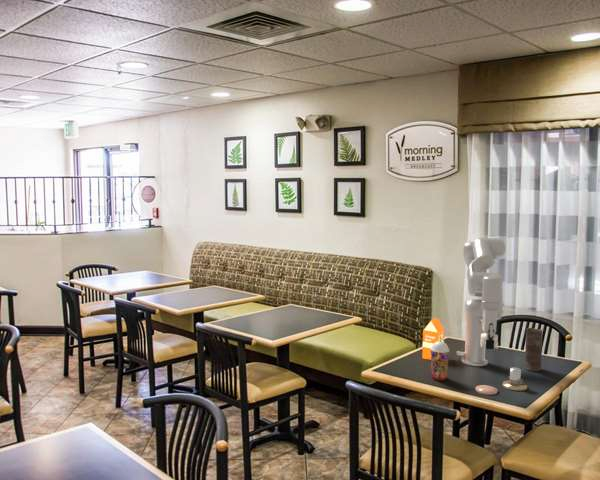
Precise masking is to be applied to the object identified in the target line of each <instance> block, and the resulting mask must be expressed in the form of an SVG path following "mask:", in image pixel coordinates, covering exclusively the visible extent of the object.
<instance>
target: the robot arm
mask: <svg viewBox="0 0 600 480" xmlns="http://www.w3.org/2000/svg"><path fill="white" fill-rule="evenodd" d="M462 251H463V258H464V261H465V264H466V267H467V270H466V277H467V279H466V280H467V290H468V295H469V296H471V297H476V299H469V300H467V301H466V302H465V304H464V313H465V337H464V338H465V343H464V351H461V350H460V351H459V350H457V351H456V355H457V357H461V361H460V362H461V363H463V364H465V365H467V366H473V367H485V366H487V365H488V364H489V360H487V359H486V350H495V349H494V334H496V333H497V323H498V320H500V319H501V318H502V317H503V277H502V275H501V274H500V273H497V272H486V270H489V269H491V268H492V267H493V266H494V264H495V263H496V262H495V260H499V259H501V258H502V257H503V256H505V253H506V244H505V242H504V240H503V239H502V238H495V237H494V238H493V237H492V238H490V237H489V238H488V237H479V238H477V239H475V240H474V241H468V242H465V243H464V245H463V250H462ZM478 297H479V298H481V299H478ZM482 333H487V339H486V349H485V345H483V347H481V345H480V344H481V334H482ZM488 334H490V335H488Z"/></svg>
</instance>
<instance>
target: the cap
mask: <svg viewBox="0 0 600 480" xmlns="http://www.w3.org/2000/svg"><path fill="white" fill-rule="evenodd" d="M488 335H490V334H488ZM486 339H487V333H482V334H481V344H480V345H481V347H483V345H485V350H487V349H486ZM498 339H499V335H498V334H496V333H494V349H493V350H495V349H499V340H498Z"/></svg>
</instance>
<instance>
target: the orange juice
mask: <svg viewBox="0 0 600 480" xmlns="http://www.w3.org/2000/svg"><path fill="white" fill-rule="evenodd" d="M444 329H445V328H444V327H443V325H442V323H441V321H440V319H439V318H438V317H435V318H433V319H431V320H430V321H429V322H428V324H427V325H426V326H425V328H424V329H423V330H422V354H421V355H422V359H424V360H430V361H431V349H430V348H431V347H432V345H433V344H434V343H435V342H437V341H440V335H441V341H442V342H444V335H445V330H444Z"/></svg>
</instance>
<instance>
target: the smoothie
mask: <svg viewBox="0 0 600 480" xmlns="http://www.w3.org/2000/svg"><path fill="white" fill-rule="evenodd" d="M430 349H431V360H430V372H431V377H432V379H433V380H435V381H445V380H446V378H447V376H448V367H449V360H450V359H449V357H450V351H451V350H450V348H449V346H448V345H447V343H446V342H444V341H443V342H442V341H441V335H440V341H437V342H435V343H434V344H433V345H432V347H431V348H430Z"/></svg>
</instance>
